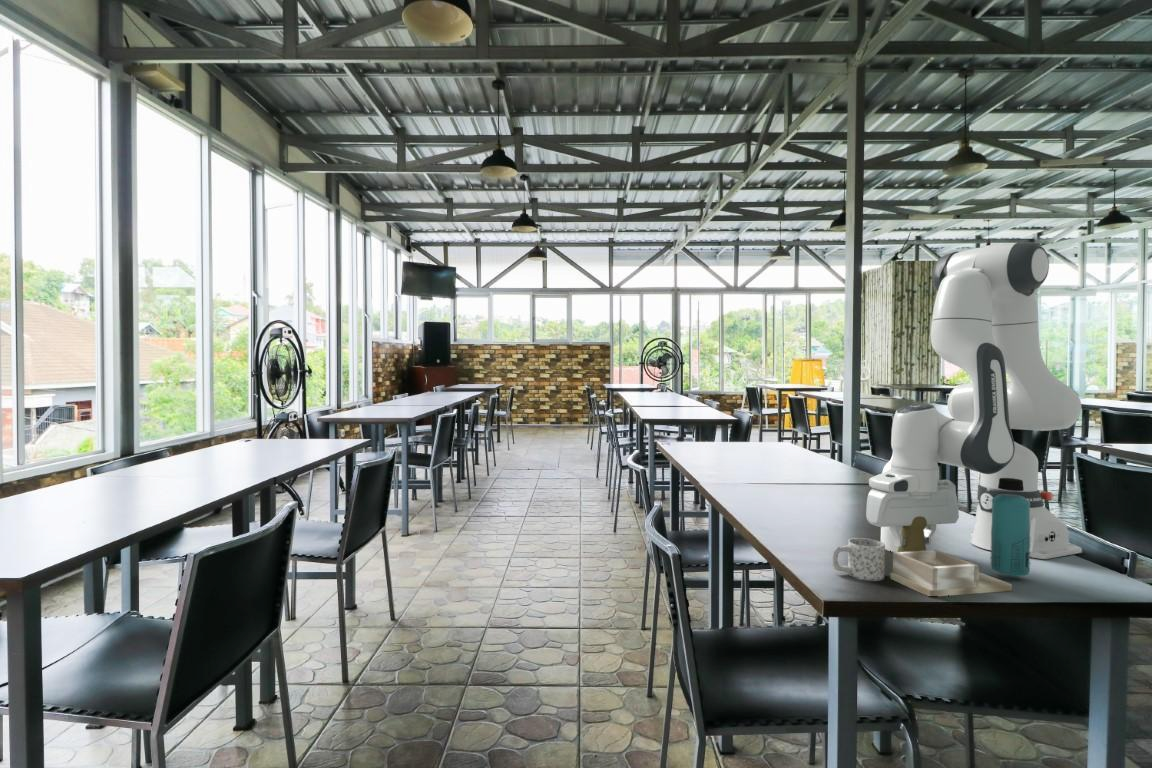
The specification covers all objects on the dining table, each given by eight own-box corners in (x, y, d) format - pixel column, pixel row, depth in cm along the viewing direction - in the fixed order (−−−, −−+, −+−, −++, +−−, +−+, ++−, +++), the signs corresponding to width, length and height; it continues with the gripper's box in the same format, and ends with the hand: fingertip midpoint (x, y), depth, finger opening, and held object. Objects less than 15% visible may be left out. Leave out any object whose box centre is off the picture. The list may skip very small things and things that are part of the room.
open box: (967, 573, 124) (967, 548, 124) (1011, 590, 114) (1012, 563, 114) (890, 578, 120) (891, 552, 120) (929, 597, 110) (930, 568, 110)
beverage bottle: (1031, 586, 116) (1034, 482, 116) (989, 579, 120) (992, 479, 120) (1028, 576, 122) (1030, 477, 122) (988, 570, 126) (990, 474, 125)
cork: (932, 570, 125) (933, 517, 125) (901, 567, 127) (902, 515, 126) (922, 561, 131) (923, 510, 131) (892, 559, 133) (893, 509, 132)
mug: (874, 570, 125) (875, 538, 125) (890, 581, 118) (891, 547, 118) (825, 569, 125) (826, 537, 125) (838, 580, 119) (839, 546, 119)
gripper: (943, 476, 134) (942, 538, 134) (862, 479, 130) (860, 543, 130) (967, 481, 128) (965, 547, 128) (882, 484, 123) (881, 552, 124)
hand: (912, 545), depth 129 cm, fingers closed on cork, 5 cm apart
